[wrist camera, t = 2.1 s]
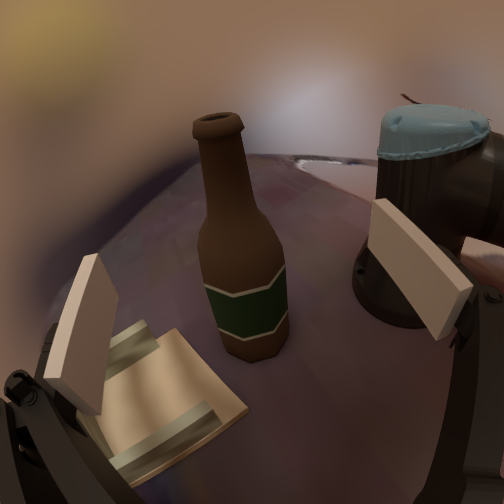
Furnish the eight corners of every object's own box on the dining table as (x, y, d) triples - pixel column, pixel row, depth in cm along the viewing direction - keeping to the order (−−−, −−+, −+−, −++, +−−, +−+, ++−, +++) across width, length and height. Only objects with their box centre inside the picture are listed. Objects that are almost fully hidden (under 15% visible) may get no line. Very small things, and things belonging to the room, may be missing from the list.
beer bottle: (209, 333, 35) (146, 127, 20) (261, 301, 38) (232, 102, 23) (247, 377, 29) (188, 139, 15) (303, 337, 33) (296, 110, 18)
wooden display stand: (177, 333, 35) (155, 285, 30) (249, 411, 26) (235, 372, 21) (78, 395, 28) (39, 356, 23) (126, 491, 19) (77, 472, 14)
